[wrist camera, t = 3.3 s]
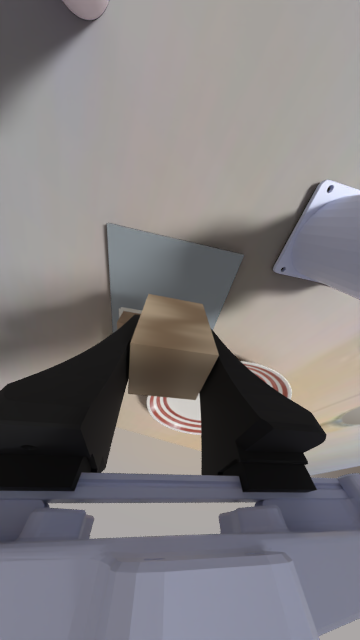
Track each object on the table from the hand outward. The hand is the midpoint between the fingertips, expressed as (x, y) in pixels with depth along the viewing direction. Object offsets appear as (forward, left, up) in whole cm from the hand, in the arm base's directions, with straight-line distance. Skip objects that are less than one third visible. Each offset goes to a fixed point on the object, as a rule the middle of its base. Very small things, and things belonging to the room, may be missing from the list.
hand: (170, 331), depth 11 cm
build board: (0, +4, -9) cm, 10 cm away
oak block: (0, 0, -1) cm, 1 cm away
